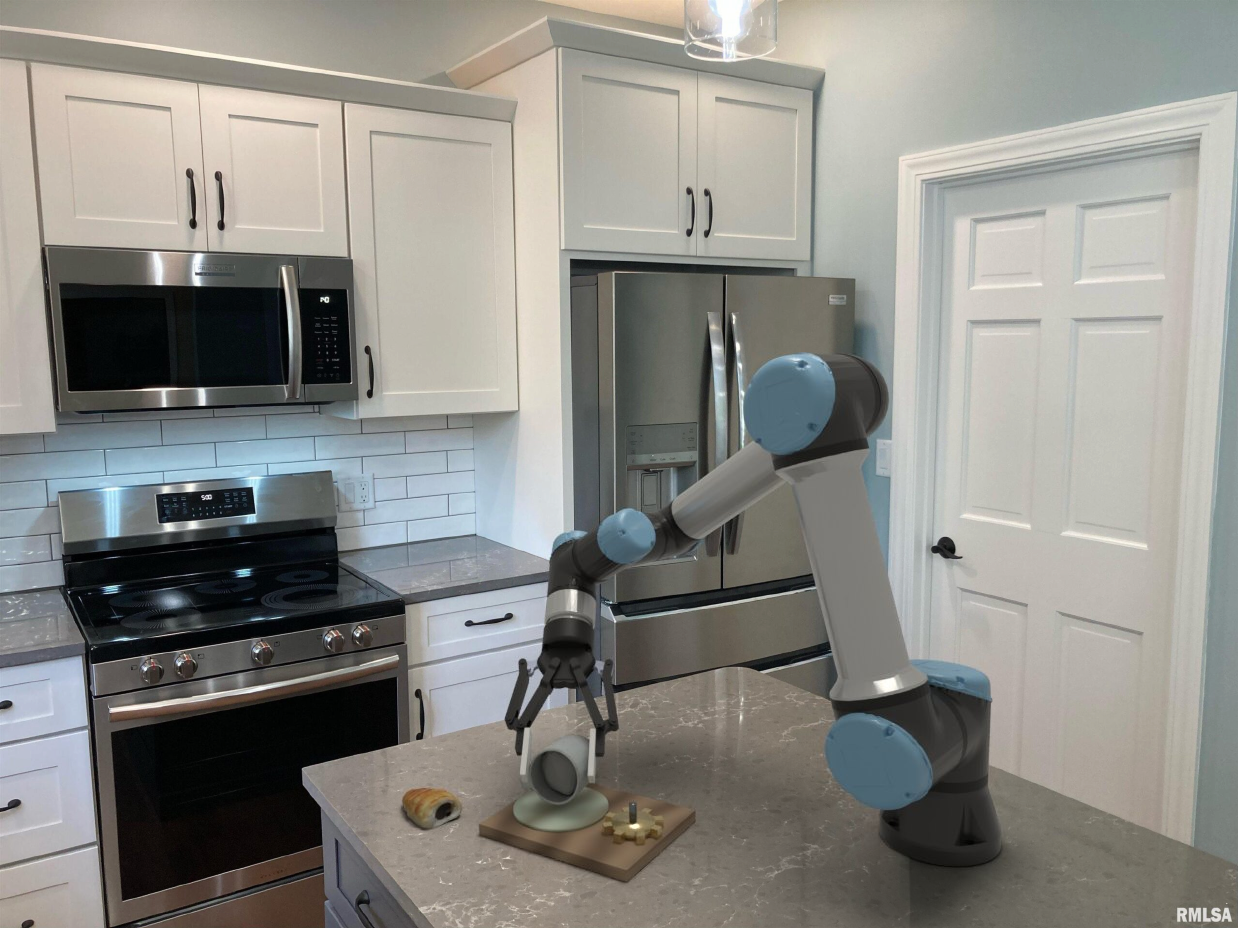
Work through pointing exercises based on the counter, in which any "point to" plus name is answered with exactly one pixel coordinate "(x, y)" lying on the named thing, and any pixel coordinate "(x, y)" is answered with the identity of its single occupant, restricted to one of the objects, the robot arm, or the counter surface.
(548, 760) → the ceramic mug
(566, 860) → the gear board
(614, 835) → the gear
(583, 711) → the counter surface
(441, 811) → the pastry
